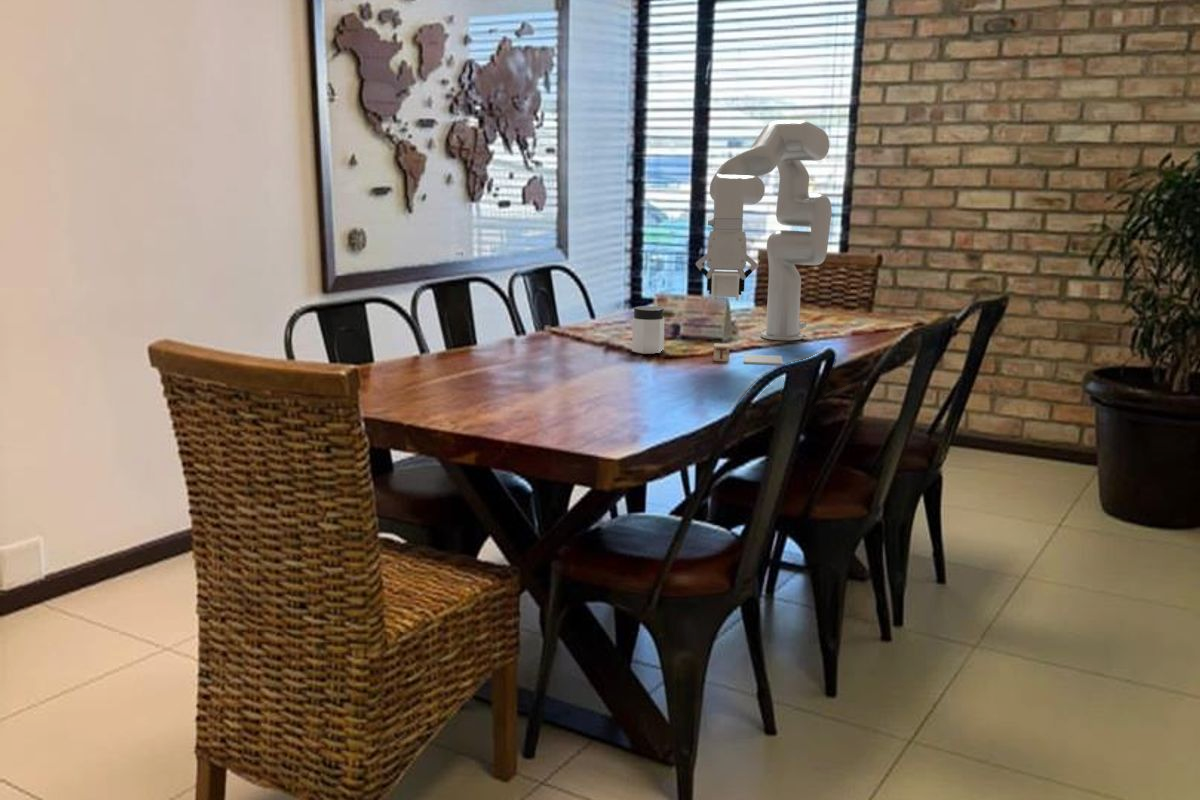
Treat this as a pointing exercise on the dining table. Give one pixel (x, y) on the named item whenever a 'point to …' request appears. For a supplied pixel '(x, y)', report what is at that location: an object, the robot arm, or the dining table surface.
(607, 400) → the dining table surface
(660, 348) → the jar
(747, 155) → the robot arm
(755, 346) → the dining table surface
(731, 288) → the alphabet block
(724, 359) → the letter cube
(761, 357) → the mat
